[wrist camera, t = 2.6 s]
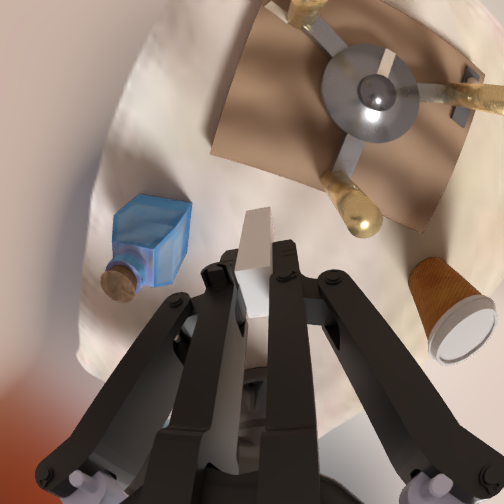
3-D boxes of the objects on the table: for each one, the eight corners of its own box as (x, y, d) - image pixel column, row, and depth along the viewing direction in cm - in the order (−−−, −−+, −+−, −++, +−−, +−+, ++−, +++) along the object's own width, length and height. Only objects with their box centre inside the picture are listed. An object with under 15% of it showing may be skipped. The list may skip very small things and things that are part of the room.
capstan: (402, 222, 26) (446, 273, 18) (236, 159, 24) (219, 191, 16) (457, 90, 19) (521, 98, 10) (291, 4, 17) (303, -44, 8)
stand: (415, 226, 29) (429, 240, 26) (213, 150, 26) (205, 157, 23) (475, 74, 19) (494, 75, 16) (278, -29, 16) (280, -45, 13)
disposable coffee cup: (395, 310, 35) (424, 377, 25) (399, 253, 31) (443, 319, 21) (449, 295, 34) (486, 353, 23) (459, 239, 29) (510, 294, 19)
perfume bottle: (139, 193, 29) (80, 245, 19) (192, 202, 29) (152, 262, 19) (138, 242, 32) (90, 306, 22) (186, 252, 32) (153, 324, 22)
